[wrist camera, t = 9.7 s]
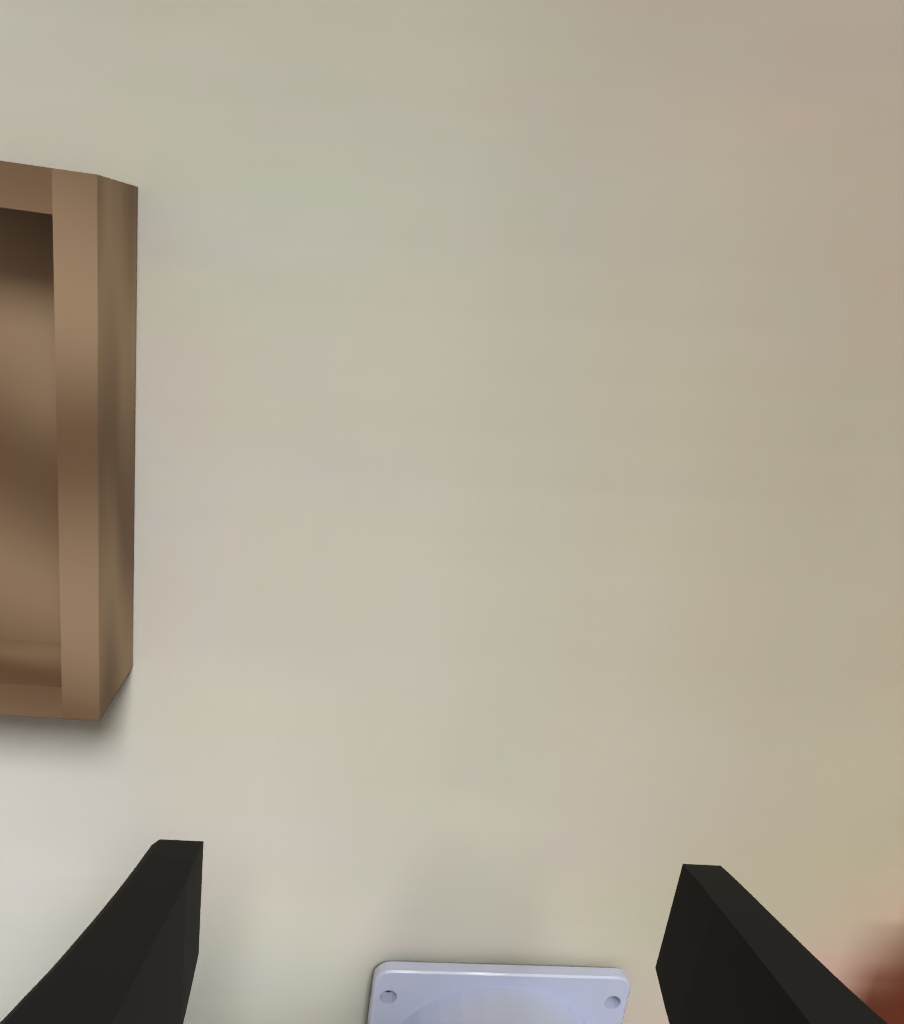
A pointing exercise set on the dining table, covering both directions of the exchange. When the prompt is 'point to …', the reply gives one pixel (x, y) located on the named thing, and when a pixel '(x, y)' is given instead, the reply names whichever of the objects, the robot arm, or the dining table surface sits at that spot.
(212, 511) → the dining table surface
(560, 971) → the robot arm
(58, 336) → the brown tray
